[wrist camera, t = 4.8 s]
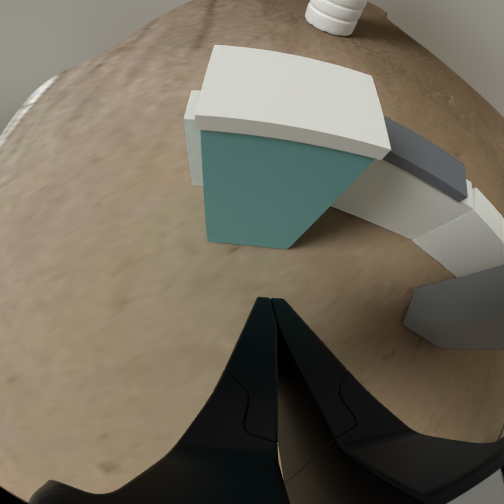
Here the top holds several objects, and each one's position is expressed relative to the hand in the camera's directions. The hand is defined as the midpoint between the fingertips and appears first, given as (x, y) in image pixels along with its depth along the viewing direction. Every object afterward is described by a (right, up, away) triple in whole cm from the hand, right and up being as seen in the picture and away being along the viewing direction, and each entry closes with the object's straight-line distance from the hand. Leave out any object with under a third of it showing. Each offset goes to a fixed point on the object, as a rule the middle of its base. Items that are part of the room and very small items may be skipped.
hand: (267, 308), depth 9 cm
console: (+7, +3, +10) cm, 13 cm away
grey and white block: (+13, -3, +9) cm, 16 cm away
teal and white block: (-1, +4, +9) cm, 10 cm away
